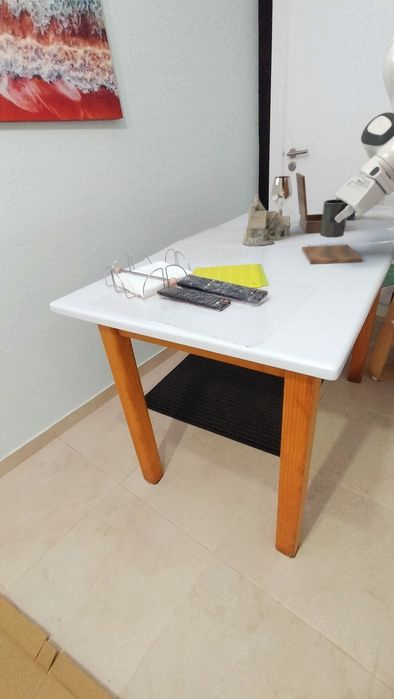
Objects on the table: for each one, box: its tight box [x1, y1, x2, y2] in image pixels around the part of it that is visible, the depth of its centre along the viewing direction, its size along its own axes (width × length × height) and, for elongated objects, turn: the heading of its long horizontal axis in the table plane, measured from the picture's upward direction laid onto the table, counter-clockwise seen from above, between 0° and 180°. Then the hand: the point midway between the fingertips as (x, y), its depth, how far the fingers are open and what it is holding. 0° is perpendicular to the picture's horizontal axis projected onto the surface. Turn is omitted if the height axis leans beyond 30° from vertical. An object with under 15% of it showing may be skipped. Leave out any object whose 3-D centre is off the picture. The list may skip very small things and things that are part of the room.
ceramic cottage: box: [242, 194, 292, 247], centre depth 117 cm, size 16×16×15 cm
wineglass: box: [270, 175, 293, 210], centre depth 131 cm, size 8×8×18 cm
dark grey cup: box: [319, 198, 348, 238], centre depth 96 cm, size 6×6×9 cm
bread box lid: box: [295, 172, 309, 221], centre depth 120 cm, size 14×13×1 cm
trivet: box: [301, 244, 363, 265], centre depth 101 cm, size 14×14×1 cm
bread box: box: [299, 213, 347, 235], centre depth 125 cm, size 14×13×5 cm
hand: (332, 217), depth 96 cm, fingers closed on dark grey cup, 6 cm apart
